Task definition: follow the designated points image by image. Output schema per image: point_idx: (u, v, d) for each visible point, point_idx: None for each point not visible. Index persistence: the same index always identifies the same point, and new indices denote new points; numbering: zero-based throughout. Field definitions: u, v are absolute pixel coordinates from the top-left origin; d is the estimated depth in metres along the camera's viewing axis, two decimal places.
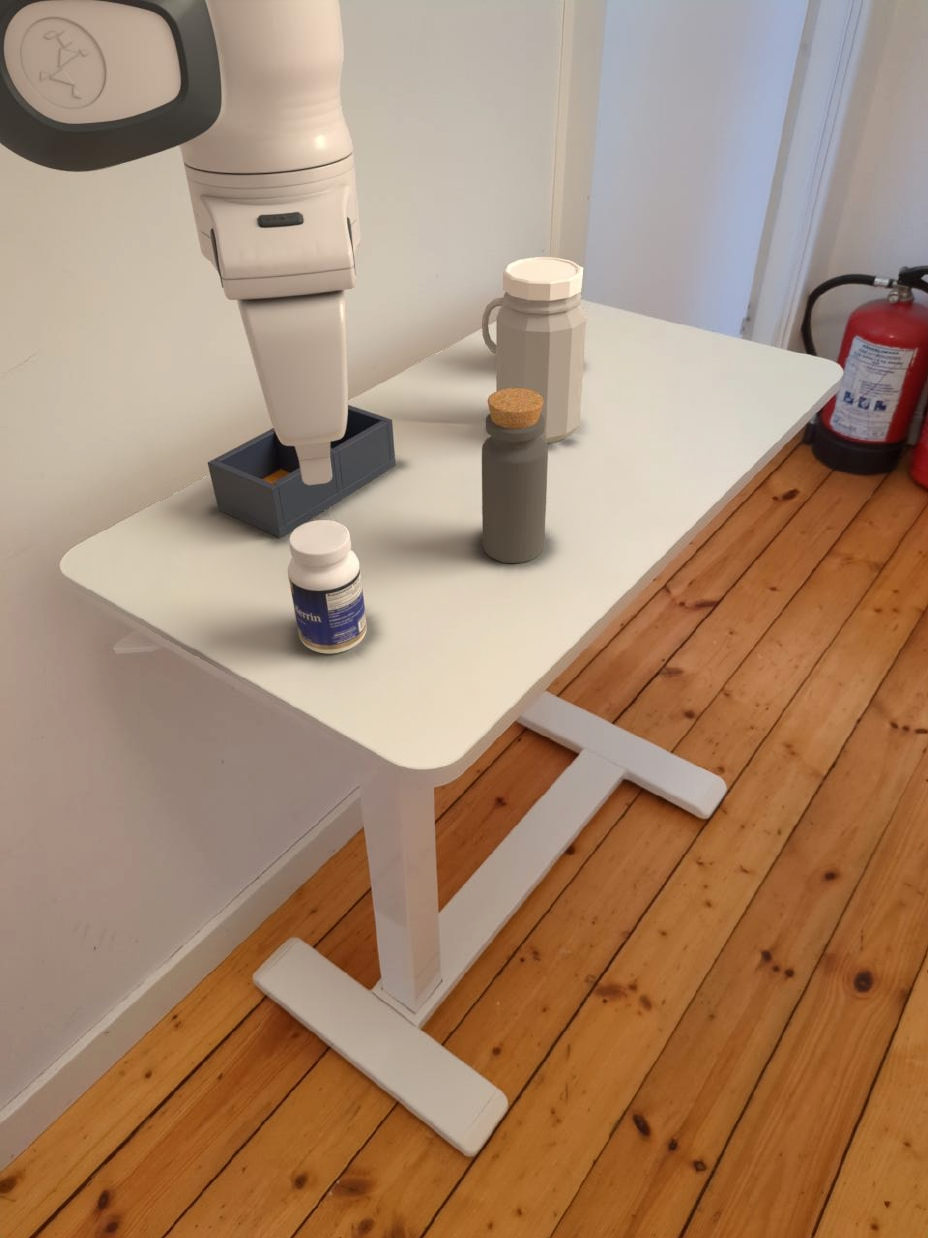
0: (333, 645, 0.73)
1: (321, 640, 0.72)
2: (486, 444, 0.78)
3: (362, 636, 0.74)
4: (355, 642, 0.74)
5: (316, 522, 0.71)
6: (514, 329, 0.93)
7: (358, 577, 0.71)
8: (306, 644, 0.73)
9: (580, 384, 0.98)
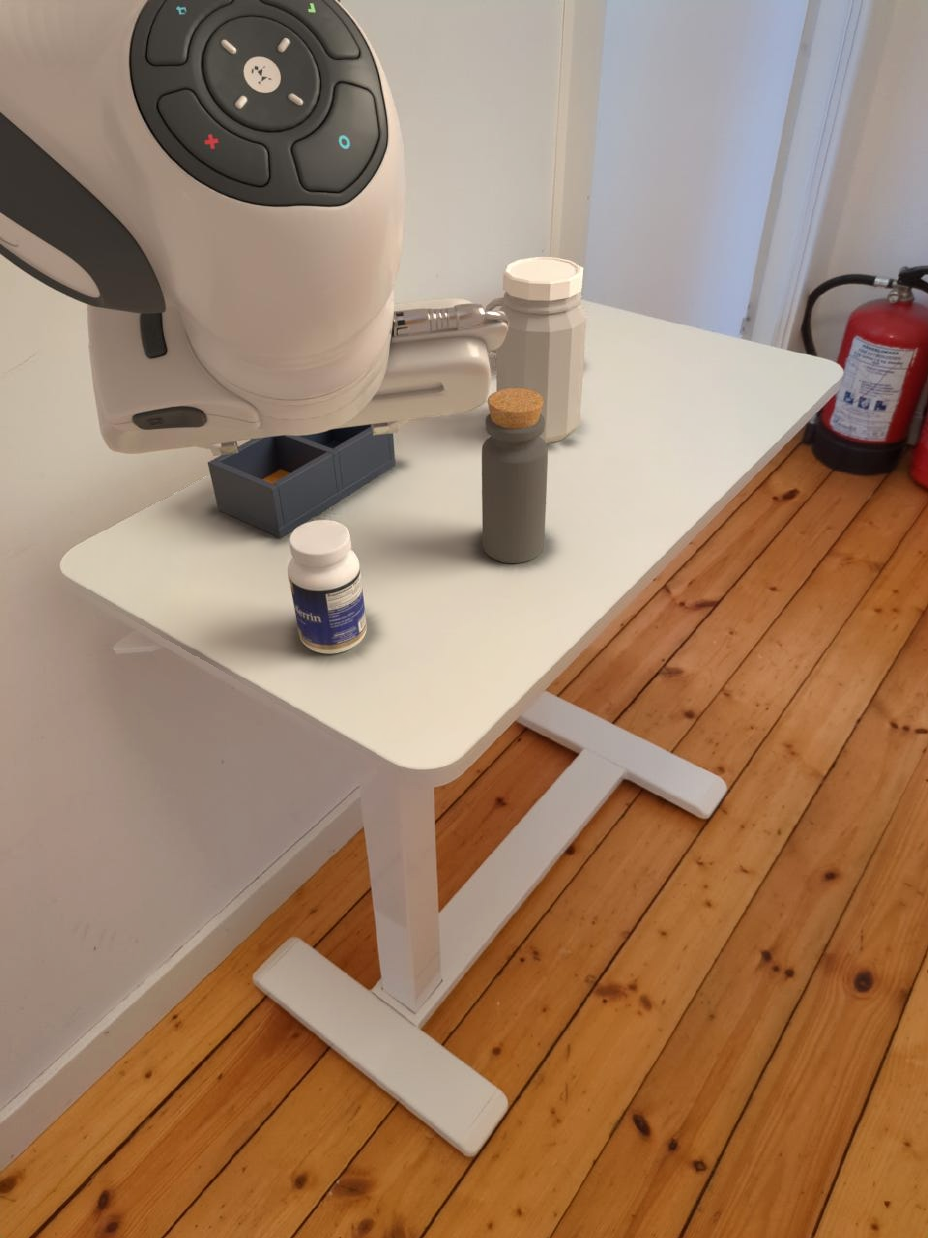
0: (333, 645, 0.73)
1: (321, 640, 0.72)
2: (486, 444, 0.78)
3: (362, 636, 0.74)
4: (355, 642, 0.74)
5: (316, 522, 0.71)
6: (514, 329, 0.93)
7: (358, 577, 0.71)
8: (306, 644, 0.73)
9: (580, 384, 0.98)
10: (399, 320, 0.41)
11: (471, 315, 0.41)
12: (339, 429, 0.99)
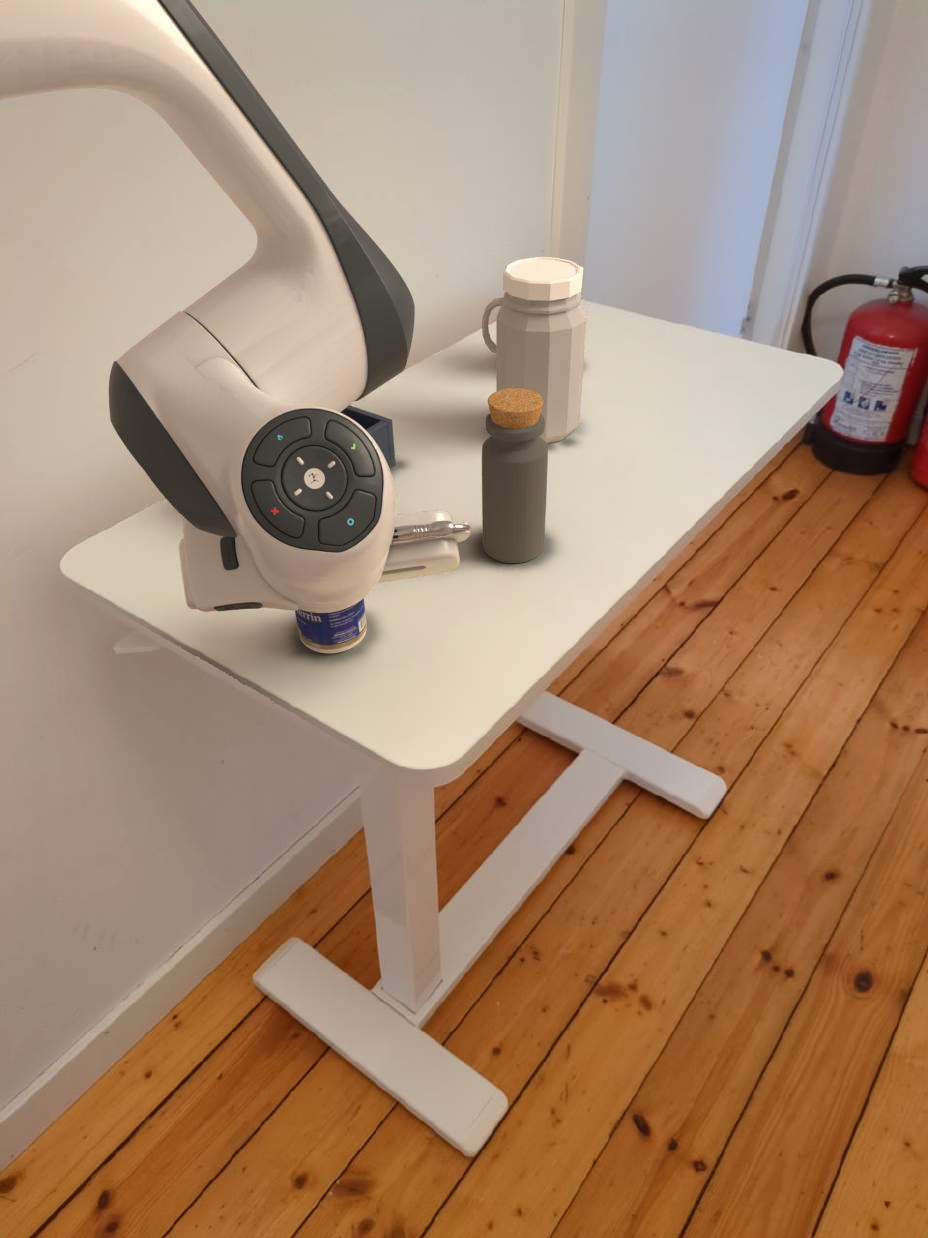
0: (334, 645, 0.73)
1: (321, 640, 0.72)
2: (486, 444, 0.78)
3: (362, 636, 0.74)
4: (355, 642, 0.74)
5: None
6: (514, 329, 0.93)
7: None
8: (306, 644, 0.73)
9: (580, 384, 0.98)
10: (394, 535, 0.60)
11: (443, 530, 0.60)
12: None
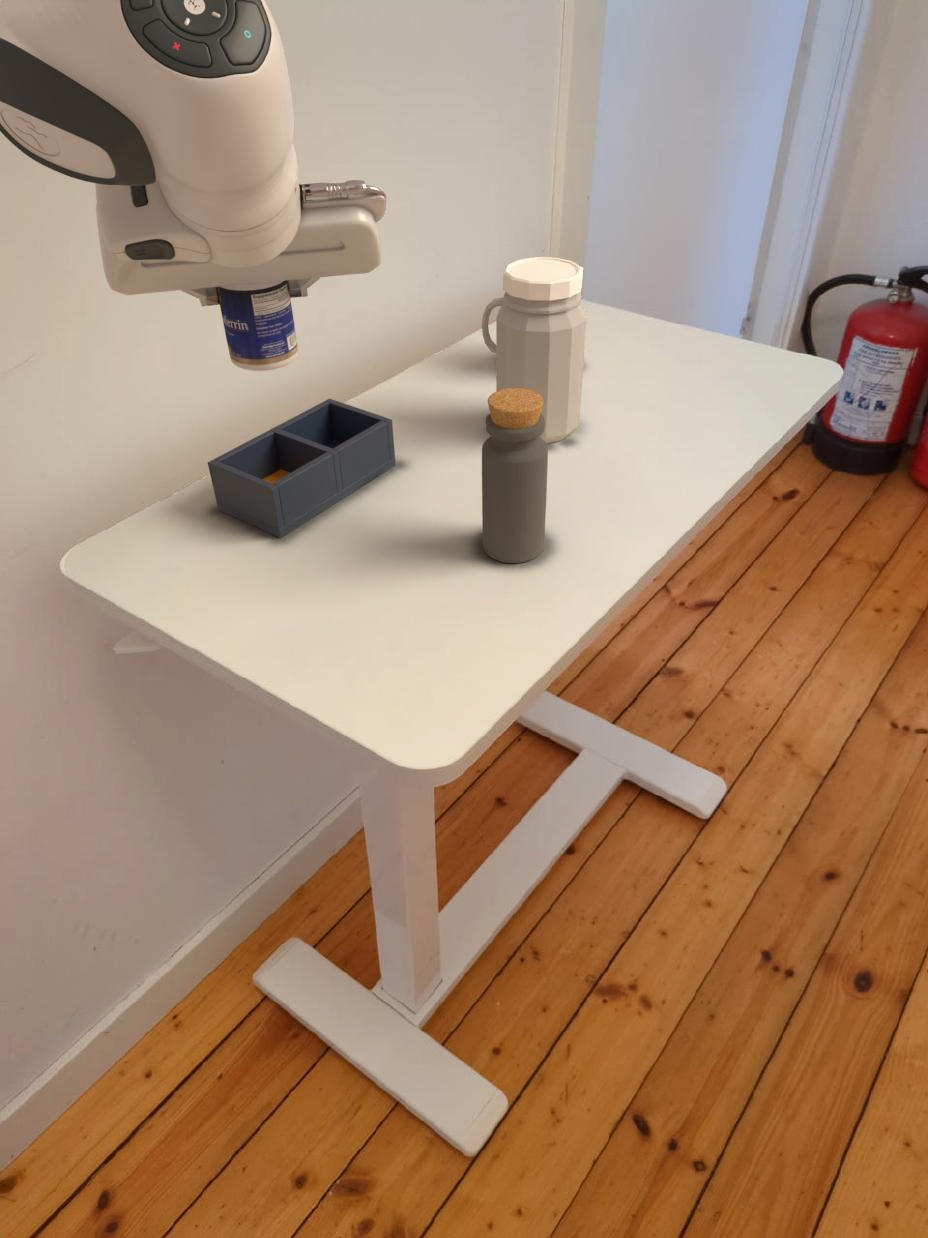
0: (262, 359, 0.73)
1: (250, 353, 0.73)
2: (486, 444, 0.78)
3: (292, 356, 0.75)
4: (285, 360, 0.74)
5: None
6: (514, 329, 0.93)
7: (285, 285, 0.71)
8: (236, 362, 0.74)
9: (580, 384, 0.98)
10: (306, 189, 0.60)
11: (356, 187, 0.61)
12: (339, 429, 0.99)
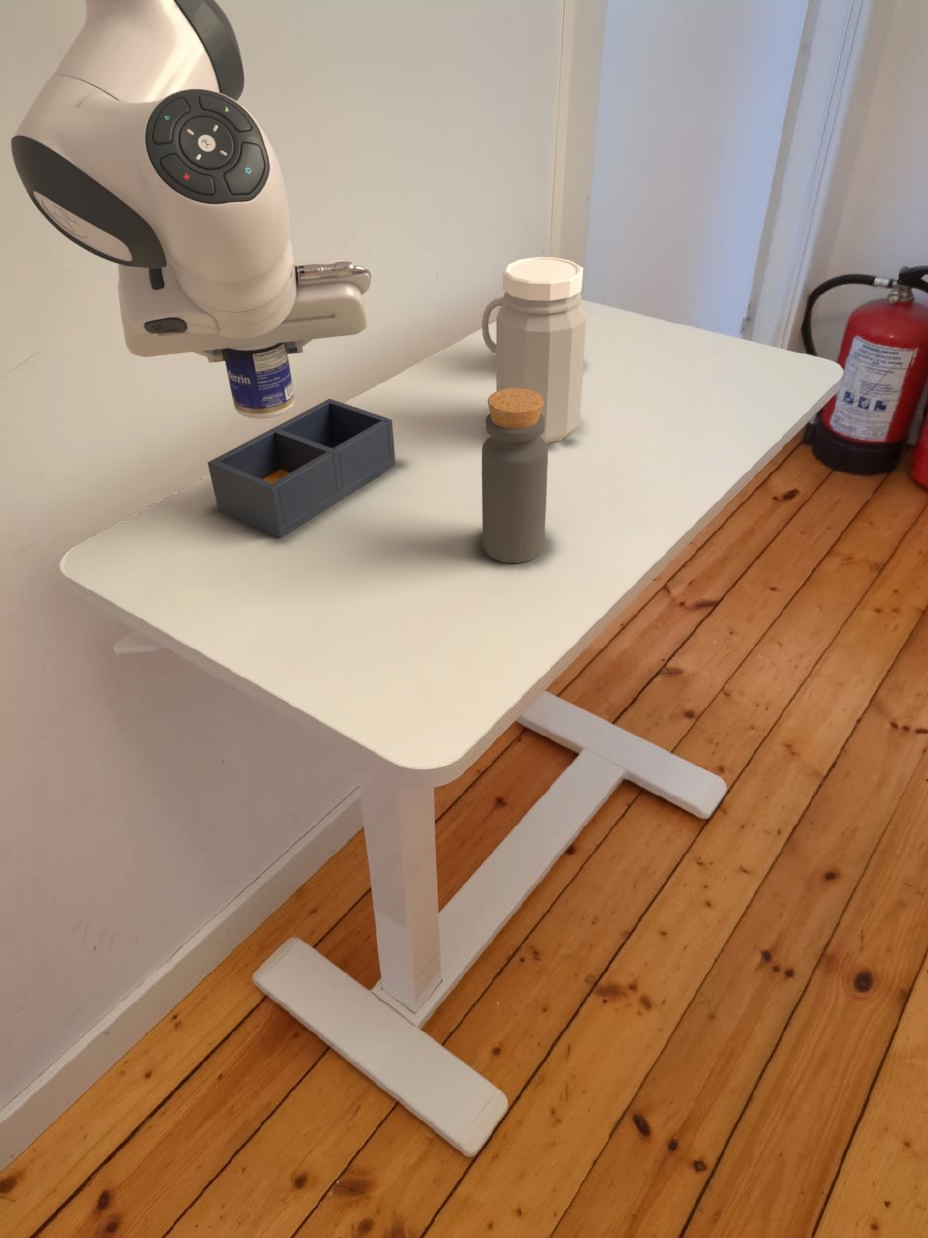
0: (263, 409, 0.82)
1: (252, 403, 0.82)
2: (486, 444, 0.78)
3: (289, 405, 0.84)
4: (283, 409, 0.83)
5: None
6: (514, 329, 0.93)
7: (283, 344, 0.81)
8: (239, 410, 0.83)
9: (580, 384, 0.98)
10: (300, 270, 0.69)
11: (344, 268, 0.70)
12: (339, 429, 0.99)
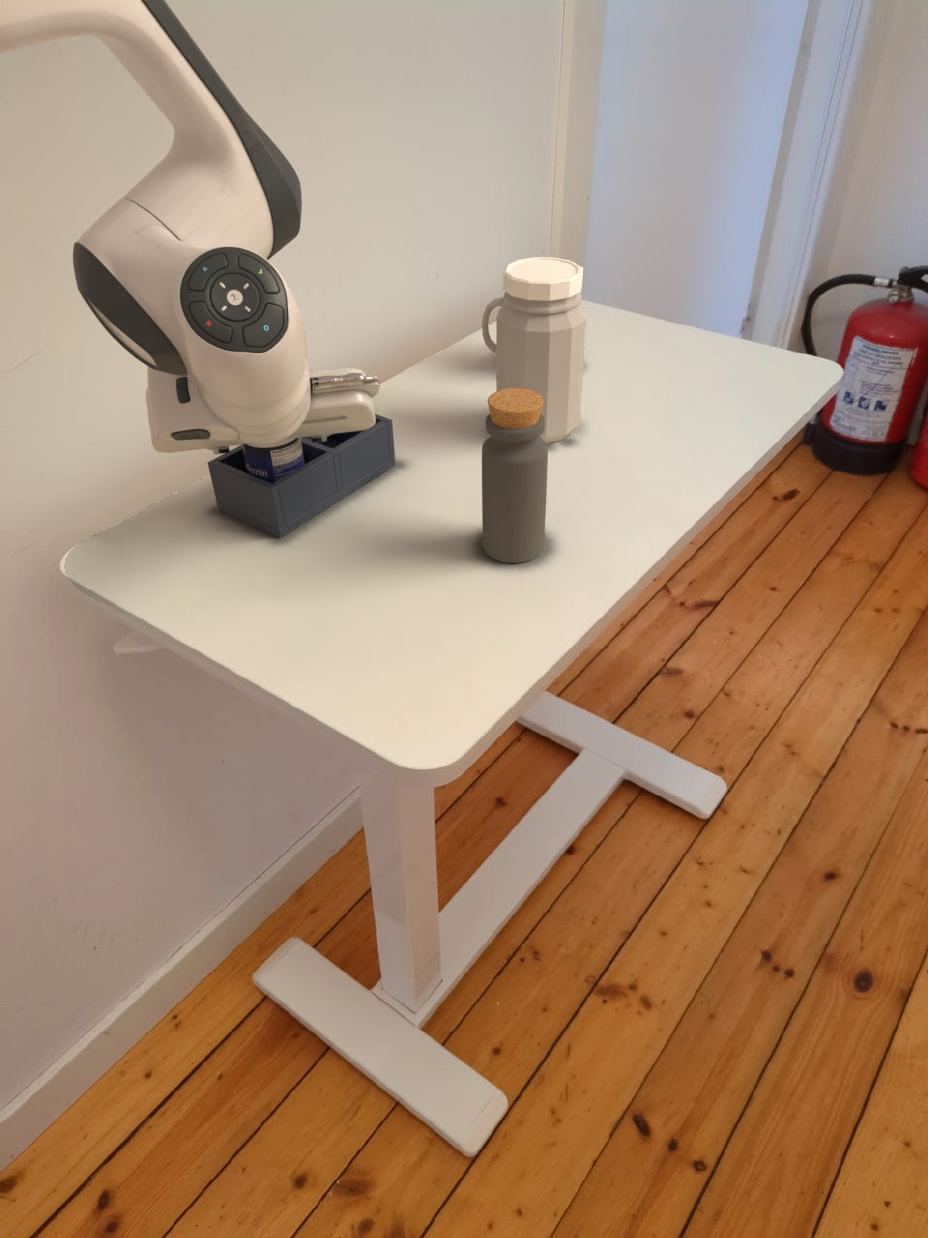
0: None
1: None
2: (486, 444, 0.78)
3: None
4: None
5: None
6: (514, 329, 0.93)
7: (298, 439, 0.87)
8: None
9: (580, 384, 0.98)
10: (315, 382, 0.75)
11: (355, 379, 0.76)
12: None
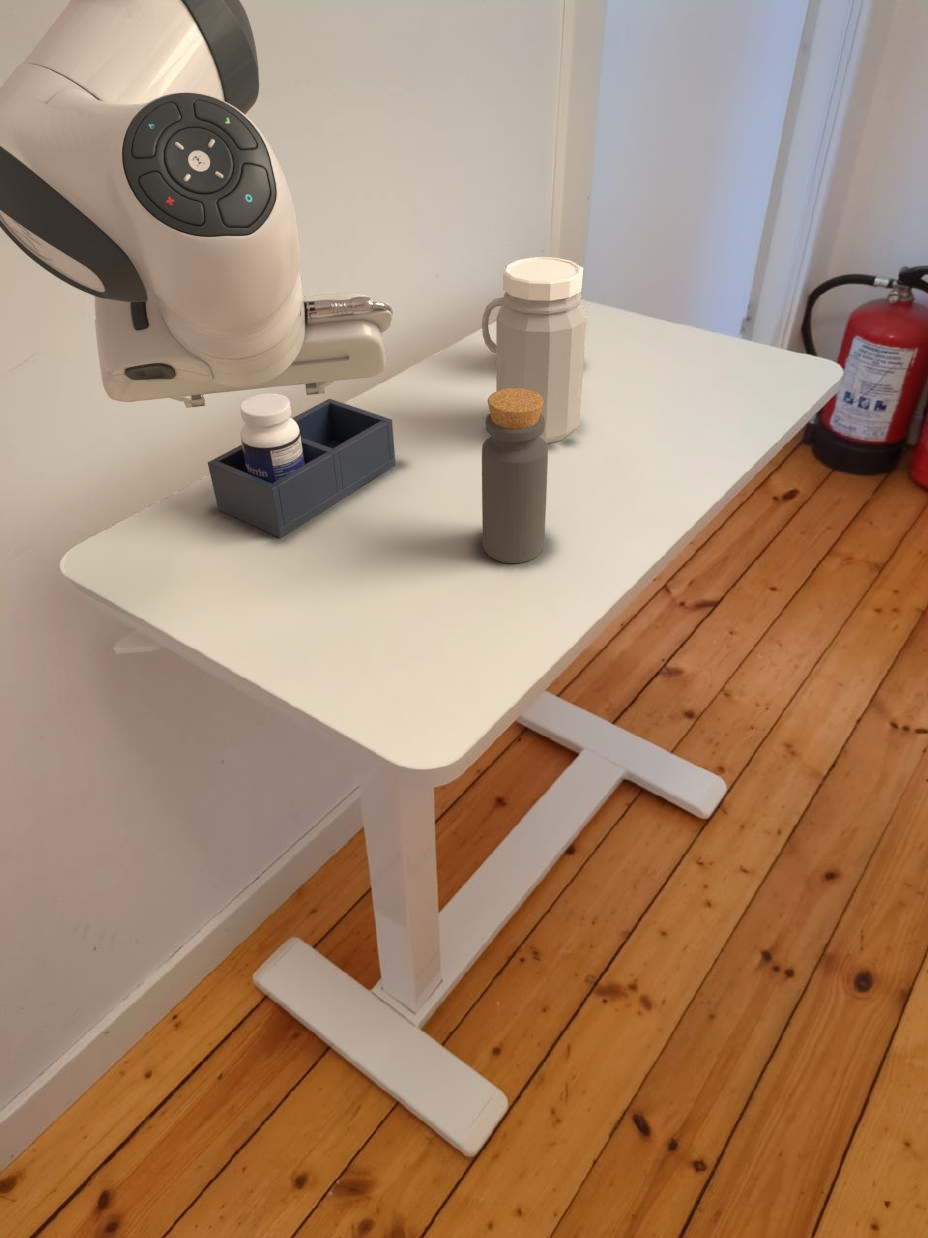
0: None
1: None
2: (486, 444, 0.78)
3: None
4: None
5: (263, 394, 0.86)
6: (514, 329, 0.93)
7: (298, 440, 0.87)
8: None
9: (580, 384, 0.98)
10: (311, 307, 0.59)
11: (362, 304, 0.59)
12: (339, 429, 0.99)
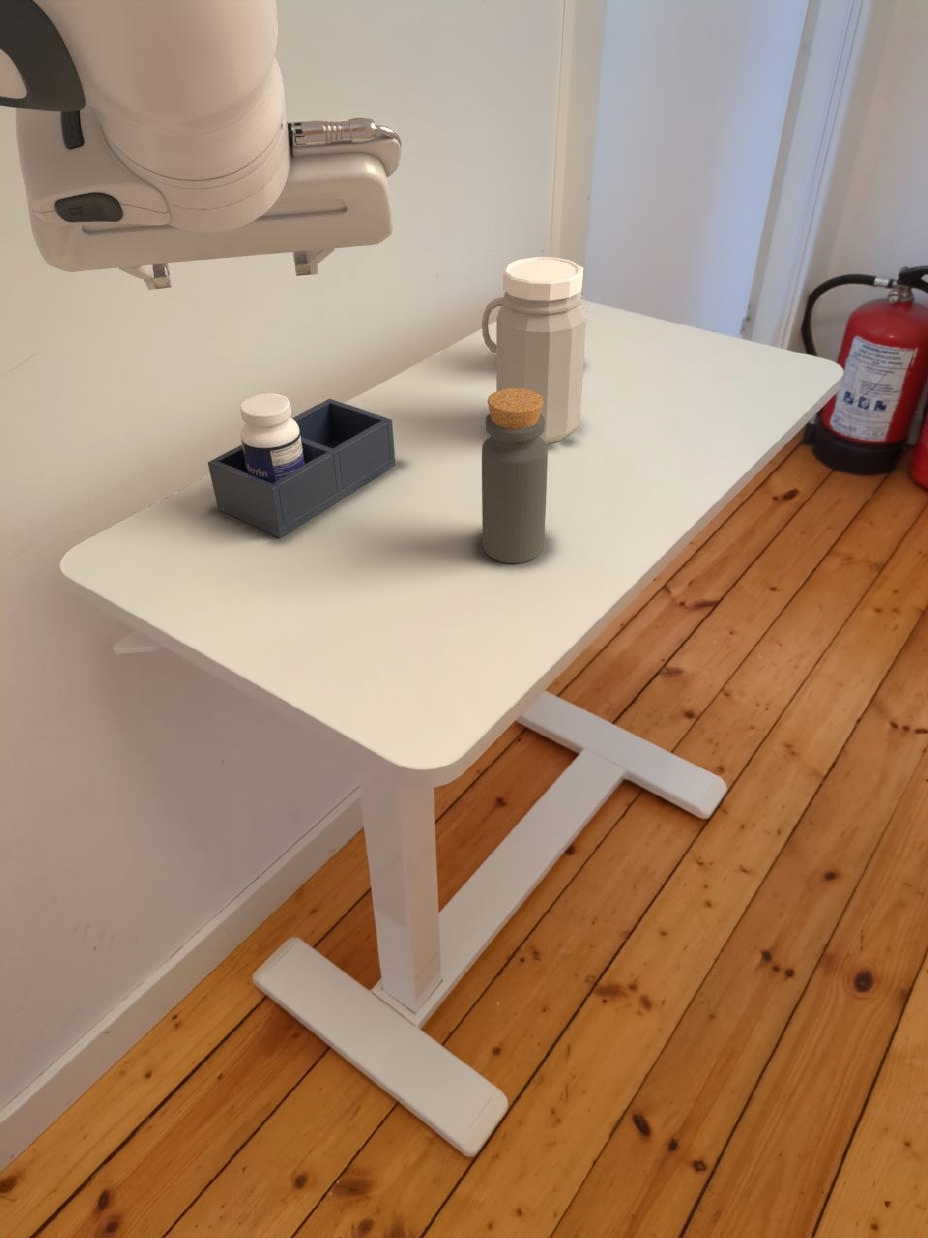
0: None
1: None
2: (486, 444, 0.78)
3: None
4: None
5: (263, 394, 0.86)
6: (514, 329, 0.93)
7: (298, 440, 0.87)
8: None
9: (580, 384, 0.98)
10: (296, 129, 0.46)
11: (362, 127, 0.46)
12: (339, 429, 0.99)
